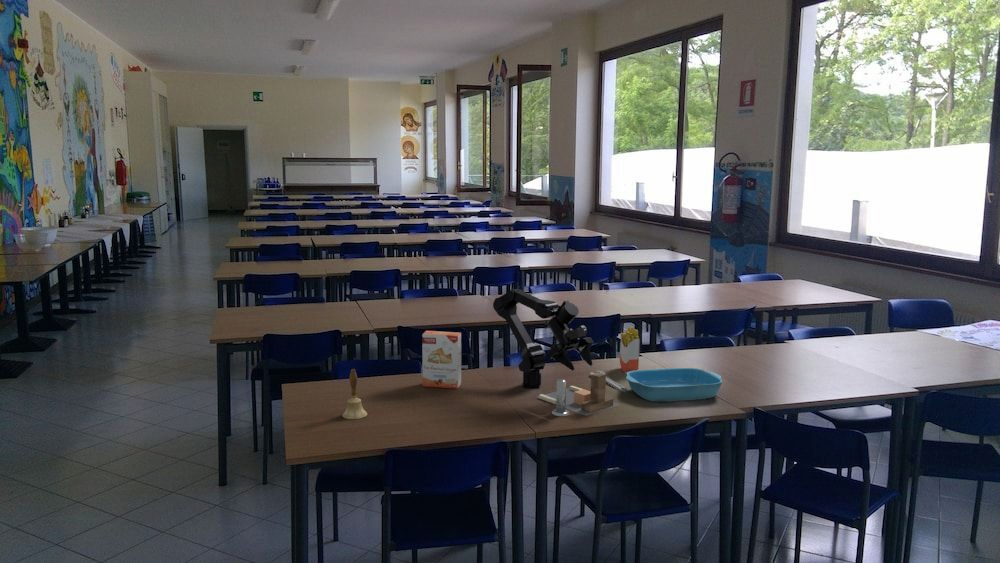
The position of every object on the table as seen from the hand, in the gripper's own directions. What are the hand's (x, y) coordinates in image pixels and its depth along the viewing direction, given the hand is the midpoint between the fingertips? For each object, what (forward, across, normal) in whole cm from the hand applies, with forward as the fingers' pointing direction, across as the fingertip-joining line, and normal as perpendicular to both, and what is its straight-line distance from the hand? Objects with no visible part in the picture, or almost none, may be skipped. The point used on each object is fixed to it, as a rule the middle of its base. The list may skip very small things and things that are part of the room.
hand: (582, 367), depth 257 cm
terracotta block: (+10, 0, +8) cm, 13 cm away
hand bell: (-19, -69, +38) cm, 81 cm away
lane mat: (+8, 0, +11) cm, 13 cm away
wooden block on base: (+14, 0, +4) cm, 15 cm away
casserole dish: (+20, +35, 0) cm, 40 cm away
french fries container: (-2, +44, +21) cm, 49 cm away
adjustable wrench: (+2, +26, +17) cm, 31 cm away
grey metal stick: (+12, -14, +7) cm, 20 cm away
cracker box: (-24, -27, +43) cm, 56 cm away
